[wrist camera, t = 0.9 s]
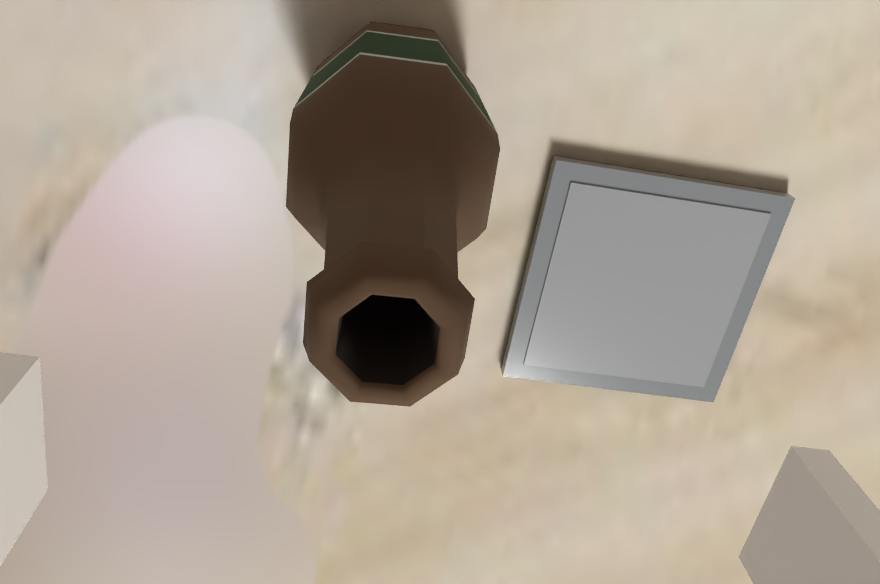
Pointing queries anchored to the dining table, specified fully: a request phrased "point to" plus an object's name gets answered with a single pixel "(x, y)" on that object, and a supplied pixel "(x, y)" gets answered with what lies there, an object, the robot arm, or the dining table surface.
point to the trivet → (640, 279)
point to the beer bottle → (390, 210)
